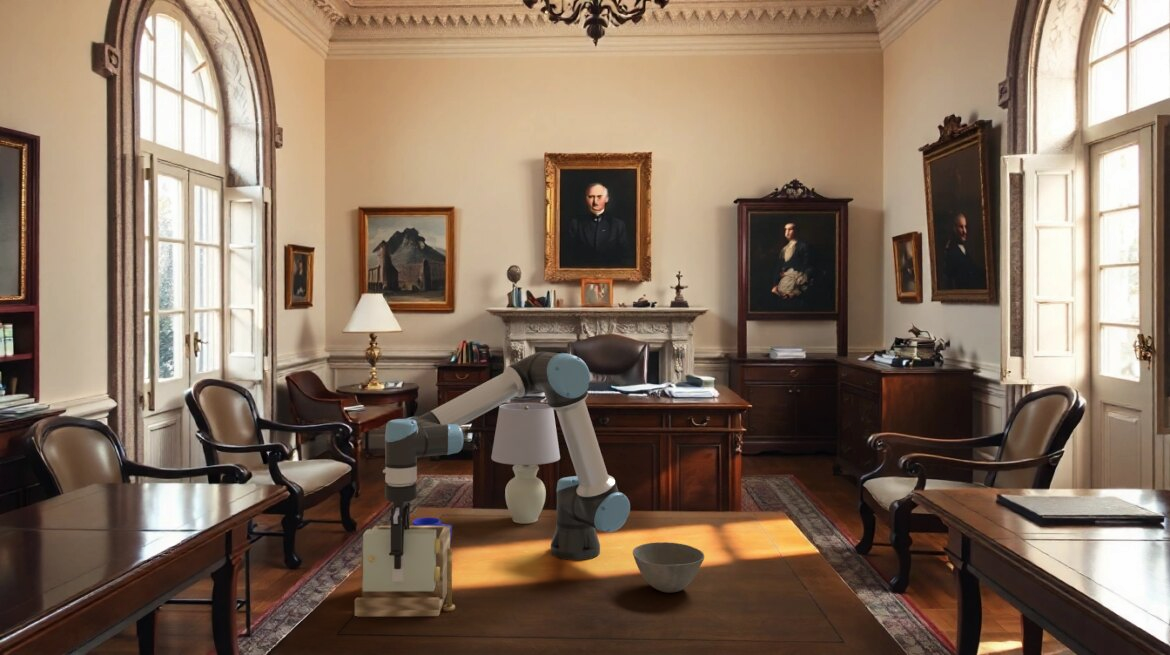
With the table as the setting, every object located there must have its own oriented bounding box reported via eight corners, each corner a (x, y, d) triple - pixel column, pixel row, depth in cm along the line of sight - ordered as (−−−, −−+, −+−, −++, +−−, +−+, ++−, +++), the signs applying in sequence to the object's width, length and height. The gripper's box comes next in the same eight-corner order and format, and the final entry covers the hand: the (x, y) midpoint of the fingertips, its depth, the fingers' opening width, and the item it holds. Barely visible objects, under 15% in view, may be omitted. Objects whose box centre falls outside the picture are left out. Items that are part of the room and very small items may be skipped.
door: (440, 585, 195) (441, 529, 195) (437, 592, 190) (438, 535, 190) (366, 585, 194) (367, 529, 194) (361, 592, 189) (362, 535, 189)
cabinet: (462, 584, 210) (463, 525, 210) (452, 616, 189) (453, 550, 189) (374, 585, 209) (374, 525, 208) (354, 616, 188) (354, 550, 188)
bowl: (618, 591, 207) (618, 553, 207) (658, 572, 222) (659, 537, 221) (677, 609, 195) (678, 569, 195) (716, 588, 210) (717, 551, 209)
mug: (446, 560, 230) (446, 526, 230) (407, 557, 232) (408, 523, 232) (456, 551, 238) (456, 519, 238) (419, 548, 240) (419, 516, 240)
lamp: (569, 515, 281) (570, 404, 280) (544, 533, 258) (545, 412, 257) (508, 508, 289) (509, 400, 288) (478, 525, 266) (479, 408, 265)
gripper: (392, 475, 200) (391, 566, 201) (377, 491, 183) (376, 590, 184) (421, 475, 200) (421, 566, 201) (410, 491, 183) (409, 590, 184)
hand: (400, 577), depth 192 cm, fingers closed on door, 4 cm apart
